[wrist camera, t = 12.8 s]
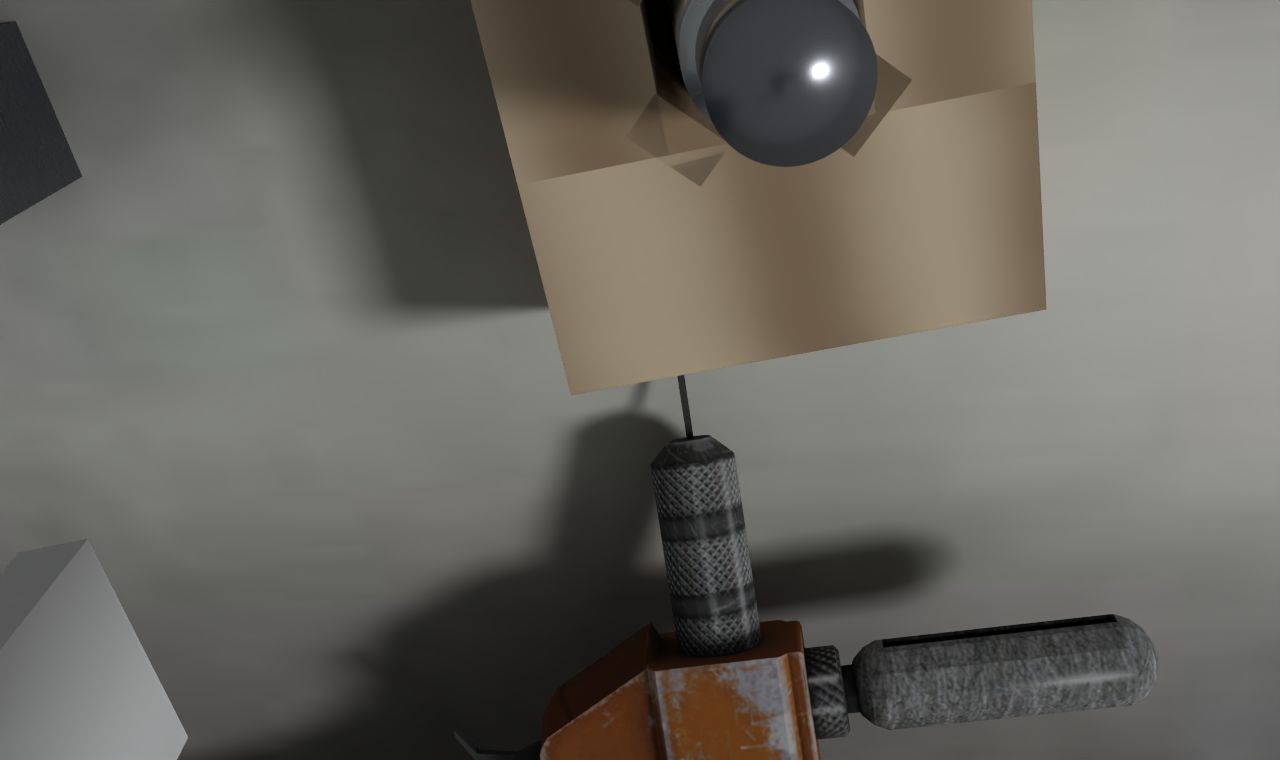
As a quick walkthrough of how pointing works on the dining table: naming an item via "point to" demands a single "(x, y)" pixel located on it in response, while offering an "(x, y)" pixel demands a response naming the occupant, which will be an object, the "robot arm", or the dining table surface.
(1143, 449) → the dining table surface
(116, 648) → the robot arm
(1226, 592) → the dining table surface
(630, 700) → the tool
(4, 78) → the square bit
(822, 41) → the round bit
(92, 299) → the dining table surface
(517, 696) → the dining table surface
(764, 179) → the bore block
